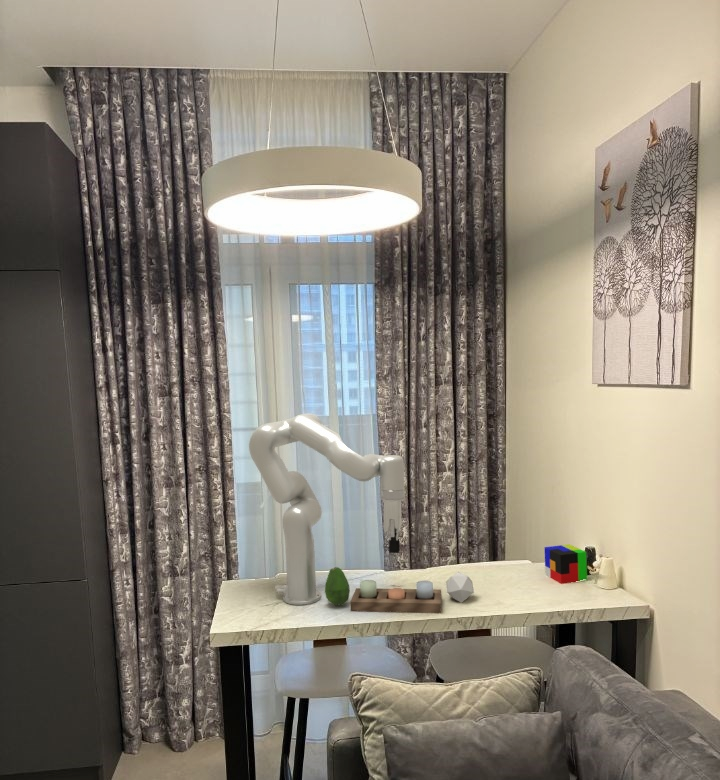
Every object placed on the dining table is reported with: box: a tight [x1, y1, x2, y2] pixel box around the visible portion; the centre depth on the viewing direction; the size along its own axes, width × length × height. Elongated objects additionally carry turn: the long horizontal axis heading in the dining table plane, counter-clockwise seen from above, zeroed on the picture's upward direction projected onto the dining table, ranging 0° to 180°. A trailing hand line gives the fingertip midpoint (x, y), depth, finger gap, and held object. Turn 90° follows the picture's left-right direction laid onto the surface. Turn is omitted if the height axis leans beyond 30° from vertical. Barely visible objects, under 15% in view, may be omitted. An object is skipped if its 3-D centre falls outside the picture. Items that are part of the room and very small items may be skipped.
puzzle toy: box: [543, 544, 588, 585], centre depth 207 cm, size 10×10×10 cm
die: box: [445, 571, 475, 603], centre depth 191 cm, size 8×9×10 cm
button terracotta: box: [388, 587, 405, 599], centre depth 188 cm, size 5×5×4 cm
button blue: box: [415, 580, 434, 599], centre depth 187 cm, size 5×5×4 cm
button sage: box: [359, 579, 377, 598], centre depth 189 cm, size 5×5×4 cm
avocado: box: [324, 566, 351, 606], centre depth 190 cm, size 8×8×12 cm
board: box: [349, 587, 442, 614], centre depth 188 cm, size 28×12×3 cm, turn 82°
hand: (394, 551), depth 188 cm, fingers closed
